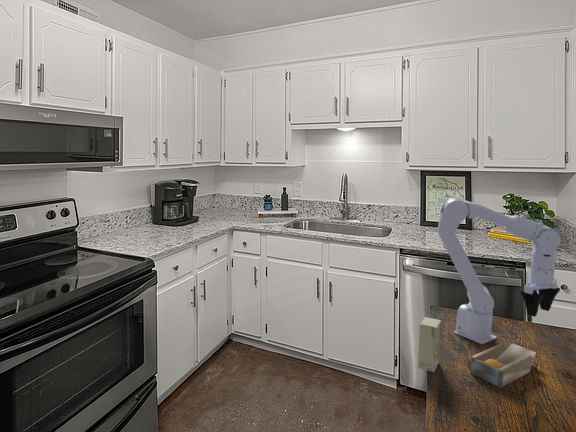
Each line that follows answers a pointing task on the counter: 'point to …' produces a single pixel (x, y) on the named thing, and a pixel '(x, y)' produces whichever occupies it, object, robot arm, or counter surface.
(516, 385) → the counter surface
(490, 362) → the ball
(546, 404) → the counter surface
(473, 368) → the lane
